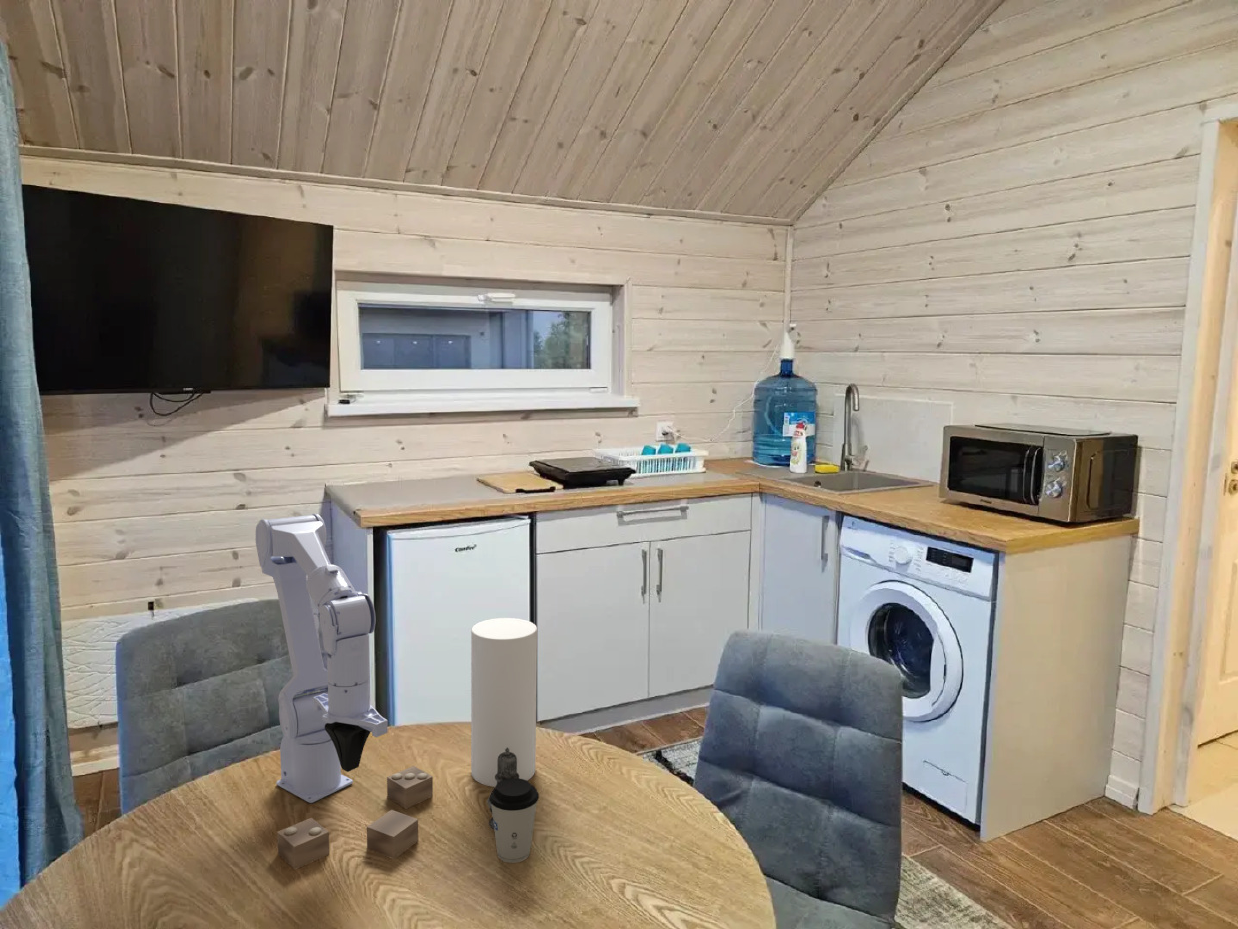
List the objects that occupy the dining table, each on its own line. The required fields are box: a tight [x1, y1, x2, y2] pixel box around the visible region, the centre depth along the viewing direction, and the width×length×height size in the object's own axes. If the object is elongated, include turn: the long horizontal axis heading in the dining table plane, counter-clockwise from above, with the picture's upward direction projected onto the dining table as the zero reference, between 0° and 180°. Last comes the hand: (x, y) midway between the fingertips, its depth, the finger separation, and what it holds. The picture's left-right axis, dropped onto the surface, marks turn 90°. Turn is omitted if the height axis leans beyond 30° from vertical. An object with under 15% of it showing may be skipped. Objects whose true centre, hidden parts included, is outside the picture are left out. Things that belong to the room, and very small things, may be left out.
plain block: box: [366, 809, 419, 860], centre depth 119 cm, size 5×5×4 cm
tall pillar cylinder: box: [470, 617, 538, 788], centre depth 139 cm, size 11×11×25 cm
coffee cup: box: [488, 778, 540, 864], centre depth 118 cm, size 7×7×10 cm
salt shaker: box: [486, 747, 519, 831], centre depth 125 cm, size 6×6×12 cm
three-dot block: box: [386, 765, 434, 810], centre depth 132 cm, size 5×5×4 cm
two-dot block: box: [276, 817, 330, 870], centre depth 117 cm, size 5×5×4 cm
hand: (350, 768), depth 122 cm, fingers closed
